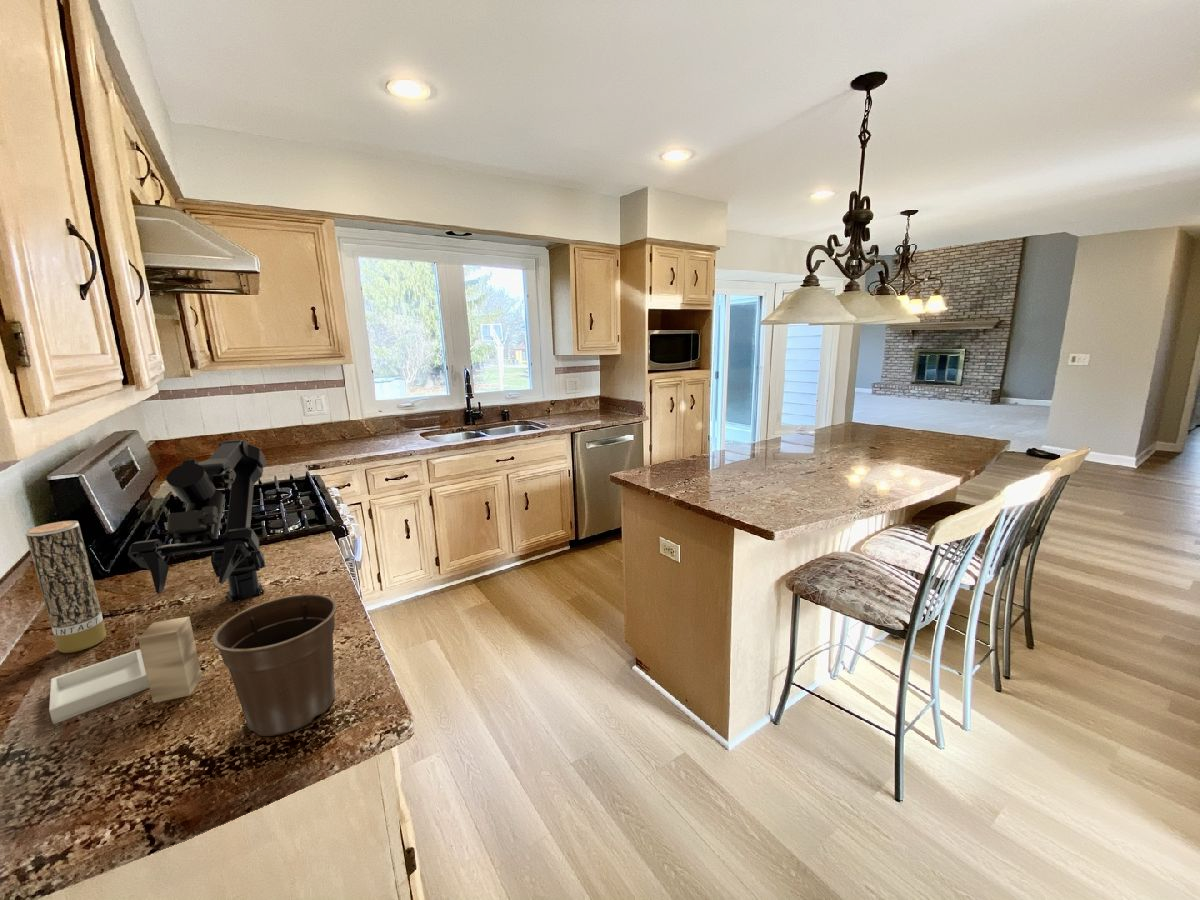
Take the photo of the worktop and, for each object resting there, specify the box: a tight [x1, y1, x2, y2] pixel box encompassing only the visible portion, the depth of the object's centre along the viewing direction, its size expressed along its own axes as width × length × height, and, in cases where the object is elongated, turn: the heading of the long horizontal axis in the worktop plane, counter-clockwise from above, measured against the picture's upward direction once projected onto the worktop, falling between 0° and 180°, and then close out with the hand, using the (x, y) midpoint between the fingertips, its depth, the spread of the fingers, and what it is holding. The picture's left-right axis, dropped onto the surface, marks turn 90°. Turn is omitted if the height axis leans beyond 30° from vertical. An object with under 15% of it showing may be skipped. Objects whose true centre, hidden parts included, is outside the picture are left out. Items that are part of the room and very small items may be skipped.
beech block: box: [137, 616, 203, 704], centre depth 82 cm, size 5×5×12 cm
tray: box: [48, 648, 150, 725], centre depth 83 cm, size 11×11×2 cm
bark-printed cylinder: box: [25, 520, 107, 654], centre depth 94 cm, size 7×7×25 cm
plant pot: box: [211, 593, 338, 737], centre depth 77 cm, size 16×16×16 cm
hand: (190, 588), depth 88 cm, fingers open, 9 cm apart
